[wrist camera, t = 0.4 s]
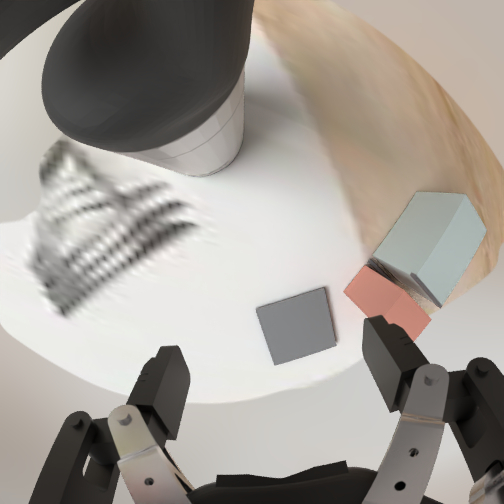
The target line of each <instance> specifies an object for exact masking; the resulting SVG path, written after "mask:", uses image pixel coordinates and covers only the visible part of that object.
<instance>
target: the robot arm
mask: <svg viewBox="0 0 504 504" xmlns="http://www.w3.org/2000/svg"><path fill="white" fill-rule="evenodd" d="M78 1H80V0H0V60H1V59H2V58H3V57H4V56H5V55H6V54H7V53H8V52H9V51H10V50H11V49H13V48H14V47H15V46H16V45H17V44H18V43H20V42H21V41H22V40H23V39H24V38H26V37H27V36H28V35H29V34H31V33H32V32H33V31H34V30H36V29H37V28H39V27H40V26H41V25H43V24H44V23H45V22H47V21H48V20H50V19H51V18H52V17H54V16H56V15H57V14H59V13H60V12H62V11H63V10H65V9H67V8H68V7H70V6H71V5H73V4H75V3H76V2H78ZM253 6H254V0H86V1H85V2H84V3H83V4H81V6H79V8H78V9H76V11H75V12H74V13H73V14H72V15H71V16H70V18H69V19H68V20H67V21H66V22H65V24H64V25H63V27H62V28H61V30H60V31H59V33H58V34H57V36H56V38H55V40H54V41H53V43H52V46H51V47H50V50H49V52H48V55H47V58H46V61H45V65H44V69H43V74H42V98H43V102H44V106H45V109H46V111H47V114H48V116H49V117H50V119H51V120H52V122H53V123H54V124H55V126H56V127H58V129H59V130H60V131H62V132H63V133H64V134H65V135H67V136H69V137H70V138H72V139H74V140H76V141H78V142H81V143H83V144H86V145H90V146H93V147H96V148H100V149H103V150H107V151H111V152H114V153H117V154H121V155H124V156H128V157H131V158H135V159H138V160H141V161H144V162H147V163H150V164H154V165H157V166H160V167H163V168H166V169H169V170H172V171H175V172H178V173H181V174H184V175H188V176H193V177H198V176H207V175H211V174H214V173H216V172H218V171H220V170H222V169H223V168H225V167H226V166H228V165H229V164H230V163H231V162H232V160H233V159H234V158H235V157H236V155H237V153H238V152H239V150H240V147H241V144H242V141H243V131H244V81H245V72H244V68H245V61H246V58H247V55H248V50H249V44H250V34H251V22H252V13H253ZM362 351H363V356H364V359H365V361H366V363H367V365H368V367H369V369H370V371H371V374H372V376H373V378H374V380H375V382H376V384H377V386H378V388H379V390H380V392H381V394H382V396H383V399H384V401H385V403H386V405H387V407H388V409H389V411H390V413H391V412H394V411H397V410H399V411H400V413H401V417H400V419H399V422H398V425H397V428H396V430H395V433H394V435H393V438H392V440H391V443H390V445H389V447H388V449H387V452H386V454H385V456H384V458H383V460H382V462H381V465H380V467H379V469H378V471H374V470H370V469H366V468H360V467H347V464H346V460H345V461H340V462H336V463H332V464H327V465H322V466H317V467H313V468H310V469H308V470H305V471H302V472H300V473H297V474H294V475H291V476H288V477H285V478H269V477H262V476H255V475H249V474H246V475H245V474H244V475H217V478H216V482H213V483H210V484H206V485H204V486H201V487H199V488H197V489H195V488H194V487H193V486H192V485H191V483H190V482H189V481H188V480H187V479H186V477H185V476H184V475H183V473H182V472H181V470H180V468H179V467H178V465H177V464H176V462H175V461H174V459H173V458H172V456H171V455H170V453H169V451H168V450H167V448H166V447H165V443H166V440H176V438H177V434H178V429H179V426H180V421H181V418H182V413H183V410H184V406H185V402H186V398H187V394H188V390H189V386H190V373H189V370H188V367H187V365H186V362H185V360H184V357H183V355H182V352H181V350H180V348H179V346H177V345H176V346H161V347H160V349H159V351H158V353H157V355H156V358H151V359H150V360H149V361H148V362H147V363H146V364H145V365H144V367H143V369H142V371H141V373H140V374H141V375H139V377H138V379H137V382H136V384H135V386H134V388H133V390H132V392H131V394H130V397H129V399H128V401H127V403H126V405H122V406H119V407H117V408H115V409H114V410H113V411H112V412H111V413H110V414H109V417H108V418H102V419H92V418H91V417H90V416H89V414H88V413H86V412H84V411H77V412H74V413H72V414H70V415H69V416H68V417H67V418H66V420H65V422H64V424H63V426H62V428H61V430H60V432H59V434H58V436H57V438H56V440H55V442H54V444H53V446H52V448H51V451H50V453H49V455H48V457H47V459H46V461H45V464H44V466H43V468H42V471H41V473H40V476H39V478H38V481H37V483H36V485H35V488H34V491H33V493H32V496H31V499H30V501H29V504H112V502H113V498H114V494H115V490H116V486H117V482H118V478H119V475H120V472H121V474H122V476H123V479H124V481H125V484H126V486H127V488H128V490H129V492H130V494H131V496H132V498H133V500H134V502H135V504H443V503H441V502H438V501H436V500H433V499H431V498H429V497H427V496H425V495H424V492H425V490H426V487H427V485H428V482H429V479H430V476H431V473H432V470H433V467H434V464H435V461H436V458H437V454H438V450H439V447H440V443H441V439H442V435H443V431H444V425H445V423H449V425H450V427H451V429H452V432H453V434H454V436H455V438H456V440H457V442H458V444H459V447H460V449H461V451H462V453H463V456H464V458H465V461H466V463H467V465H468V468H469V470H470V473H471V475H472V478H473V480H474V483H475V484H474V485H473V487H472V489H471V491H470V495H469V504H504V375H503V374H502V373H501V372H500V370H499V369H498V368H497V366H496V365H495V364H494V363H493V362H492V361H491V360H489V359H487V358H483V357H480V358H479V357H478V358H475V359H473V360H471V361H470V362H469V364H468V366H467V368H466V370H461V371H453V372H447V370H446V369H445V368H444V367H442V366H440V365H437V364H430V363H429V362H428V360H427V359H426V358H425V356H424V355H423V354H422V352H421V351H420V350H419V348H418V347H417V346H416V344H415V343H413V340H412V339H411V338H410V337H409V335H408V334H407V333H406V331H405V330H404V329H403V328H402V327H400V326H398V325H397V324H395V323H392V324H389V323H388V322H387V321H386V319H385V318H384V317H383V315H377V316H373V317H369V318H365V319H364V326H363V342H362ZM88 455H89V456H90V457H91V458H90V461H89V463H88V466H87V469H86V472H85V475H84V476H83V467H84V464H85V461H86V459H87V456H88Z"/></svg>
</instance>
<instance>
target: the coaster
mask: <svg viewBox="0 0 504 504" xmlns="http://www.w3.org/2000/svg"><path fill="white" fill-rule="evenodd" d="M256 313H257V316H258V319H259V322H260V325H261V327H262V330H263V333H264V336H265V339H266V342H267V345H268V348H269V351H270V354H271V357H272V359H273V362H274V365H279V364H282V363H285V362H289V361H292V360H295V359H299V358H302V357H305V356H308V355H311V354H314V353H317V352H320V351H323V350H326V349H329V348H331V347H334V346H336V342H335V337H334V332H333V327H332V322H331V317H330V312H329V307H328V303H327V298H326V294H325V289H324V288H320V289H317V290H314V291H311V292H308V293H305V294H302V295H299V296H296V297H292V298H289V299H286V300H283V301H280V302H276V303H273V304H270V305H267V306H263V307H260V308H257V309H256Z"/></svg>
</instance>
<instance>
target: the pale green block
mask: <svg viewBox="0 0 504 504" xmlns="http://www.w3.org/2000/svg"><path fill="white" fill-rule="evenodd" d="M486 231H487V230H486V228H485V226H484V224H483V222H482V220H481V219H480V217H479V215H478V213H477V212H476V210H475V208H474V207H473V205H472V203H471V202H470V200H469V198H468V197H467V195H466V194H458V193H441V192H416V193H415V195H414V196H413V198H412V200H411V201H410V203H409V204H408V206H407V207H406V209H405V210H404V212H403V213H402V215H401V216H400V218H399V219H398V220H397V222H396V223H395V225H394V226H393V228H392V229H391V230H390V232H389V233H388V235H387V236H386V237H385V239H384V240H383V242H382V243H381V244H380V246H379V247H378V248H377V250H376V251H375V252H374V254H373V256H374V257H375V258H376V259H377V260H378V261H379V262H380V263H381V264H382V265H383V266H384V267H385V268H386V269H387V270H388V271H389V272H390V273H391V274H392V275H393V276H394V277H395V278H396V279H397V280H398V281H399V282H401V283H402V284H404V285H406V286H407V287H409V288H411V289H412V290H414V291H415V292H417V293H419V294H420V295H422V296H423V297H425V298H427V299H428V300H430V301H431V302H433V303H434V304H435V305H436V306H438V307H440V308H441V307H442V305H443V304H444V302H445V301H446V299H447V298H448V296H449V295H450V293H451V292H452V290H453V289H454V287H455V286H456V284H457V283H458V281H459V280H460V278H461V276H462V275H463V273H464V271H465V270H466V268H467V266H468V265H469V263H470V261H471V260H472V258H473V256H474V254H475V252H476V251H477V249H478V247H479V245H480V243H481V241H482V239H483V237H484V235H485V233H486ZM368 262H369V263H370V264H371V265H372V266H373V267H374V268H375V269H376V270H377V271H378V272H379V273H380V274H381V275H382V276H383V277H384V278H386V279H388V280H389V281H391V282H392V283H394V282H393V281H392V280H391V279H390V278H389V277H388V276H387V275H386V274H385V273H384V272H383V271H382V270H381V269H380V268H379V267H378V266H377V265H376V264H375V263H374V262H373V261H372V260H371V259H369V260H368ZM394 284H395V283H394ZM395 285H396V284H395Z"/></svg>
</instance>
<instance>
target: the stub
mask: <svg viewBox="0 0 504 504" xmlns="http://www.w3.org/2000/svg"><path fill="white" fill-rule="evenodd" d="M343 292H344V293H345V294H346V295H347V296H348V297H349V298H350V299H351V300H352V301H353V302H354V303H355V304H356V305H357V306H358V307H359V308H360V309H361V310H362V311H363V312H364V313H365V314H366V315H367V317H368V318H369V317H373V316H377V315H383V317H384V318H385V319H386V321H387V322H388V323H389V324H392V323H395V324H397V325H398V326H400V327H402V328H403V329H404V330H405V331H406V333H407V334H408V335H409V337H410V338H411V339H412V340H413V342H414V341H415V339H416V338H417V337H418V336H419V335H420V334H421V332H422V331H423V329H425V327H426V326H427V325H428V323H429V322H430V321H431V318H430V317H429V316H428V315H427V314H426V313H425V312H424V310H423V309H422V308H421V307H420V306H419V305H418V304H417V303H416V302H415V301H414V300H413V299H412V298H411V297H410V296H409V294H408V293H407V292H406V291H405V290H403V289H402V288H400V287H399V286H397V285H395V284H394V283H392V282H391V281H389V280H388V279H386V278H384V277H383V276H381V275H380V274H378V273H376V272H375V271H373V270H372V269H370V268H368V267H367V266H365V265H364V267H363V268H362V269H361V270H360V272H359V273H358V274H357V275H356V277H355V278H354V279H353V280H352V282H351V283H350V284H349V285H348V287H347V288H346V289H345V290H344V291H343Z"/></svg>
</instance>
